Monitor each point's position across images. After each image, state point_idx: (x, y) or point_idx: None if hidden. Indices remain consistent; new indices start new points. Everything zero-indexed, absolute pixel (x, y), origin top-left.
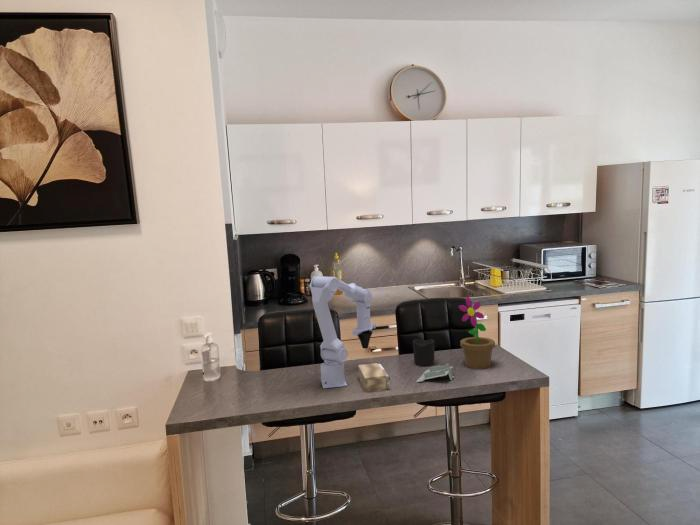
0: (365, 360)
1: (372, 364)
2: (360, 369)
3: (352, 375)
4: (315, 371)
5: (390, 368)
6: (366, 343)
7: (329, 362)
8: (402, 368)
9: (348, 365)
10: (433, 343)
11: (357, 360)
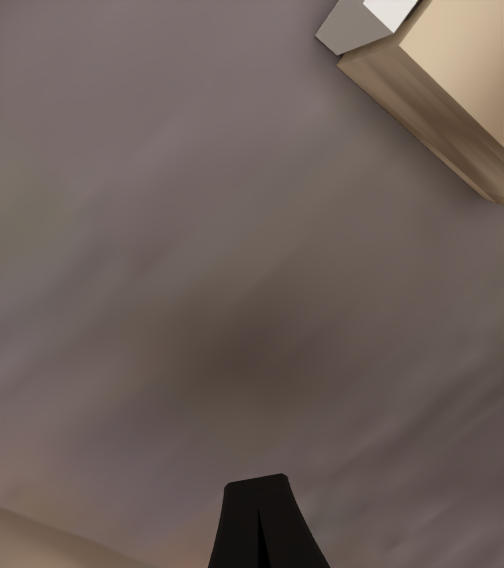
0: (59, 488)
1: (496, 66)
2: None
3: (446, 300)
4: (493, 553)
5: (37, 128)
6: (325, 563)
7: None
8: None
9: None
10: None
11: (112, 529)
